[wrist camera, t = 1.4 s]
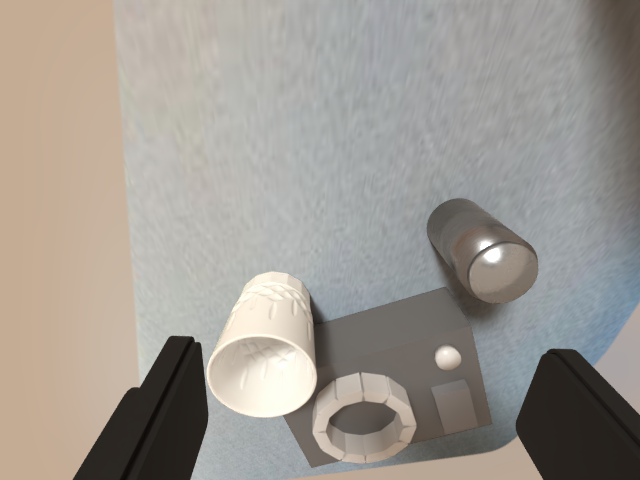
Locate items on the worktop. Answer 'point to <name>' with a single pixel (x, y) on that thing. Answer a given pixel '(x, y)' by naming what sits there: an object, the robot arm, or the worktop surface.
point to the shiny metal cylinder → (482, 251)
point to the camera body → (391, 381)
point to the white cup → (266, 349)
